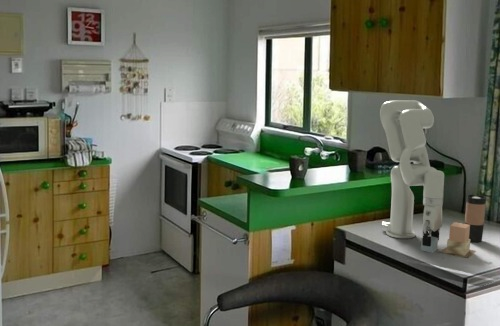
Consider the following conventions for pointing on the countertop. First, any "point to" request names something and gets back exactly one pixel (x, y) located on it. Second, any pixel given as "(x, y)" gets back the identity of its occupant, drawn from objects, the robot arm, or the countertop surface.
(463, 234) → the terracotta block
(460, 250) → the beech base block
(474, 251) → the walnut board
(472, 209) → the travel mug
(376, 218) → the countertop surface
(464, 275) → the countertop surface
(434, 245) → the slate block
